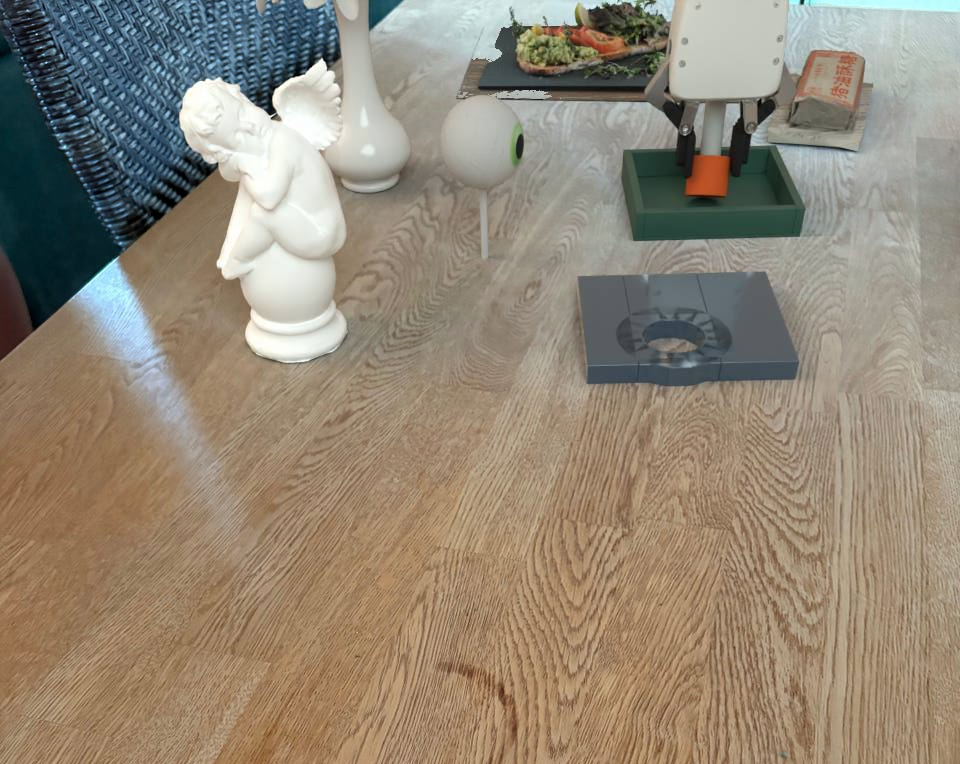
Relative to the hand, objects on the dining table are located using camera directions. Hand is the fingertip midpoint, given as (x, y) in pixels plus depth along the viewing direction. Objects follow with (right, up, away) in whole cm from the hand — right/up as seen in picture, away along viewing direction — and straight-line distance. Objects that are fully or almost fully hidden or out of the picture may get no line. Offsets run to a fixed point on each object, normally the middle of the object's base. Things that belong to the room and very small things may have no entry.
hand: (709, 170), depth 99 cm
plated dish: (-6, +29, +32) cm, 44 cm away
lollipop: (-22, -12, -5) cm, 25 cm away
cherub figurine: (-37, -19, -10) cm, 43 cm away
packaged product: (+17, +14, +17) cm, 28 cm away
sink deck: (-6, -22, -15) cm, 27 cm away
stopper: (0, -2, +1) cm, 2 cm away
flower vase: (-35, +3, +9) cm, 36 cm away
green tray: (0, -3, +3) cm, 4 cm away
